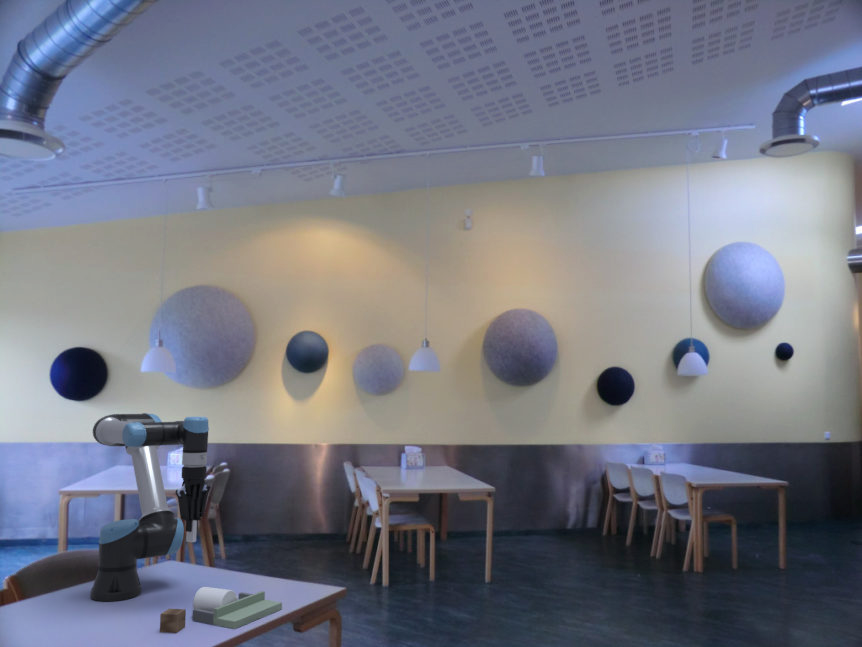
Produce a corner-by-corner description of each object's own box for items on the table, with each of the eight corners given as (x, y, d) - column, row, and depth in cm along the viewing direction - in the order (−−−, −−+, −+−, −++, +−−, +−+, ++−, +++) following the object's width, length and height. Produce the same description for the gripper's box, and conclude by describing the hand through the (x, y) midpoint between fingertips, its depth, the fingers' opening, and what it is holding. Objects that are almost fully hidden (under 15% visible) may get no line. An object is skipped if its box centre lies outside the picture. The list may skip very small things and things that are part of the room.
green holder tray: (192, 620, 211) (193, 604, 211) (241, 601, 230) (242, 587, 230) (234, 629, 204) (235, 612, 204) (281, 609, 222) (282, 594, 223)
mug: (220, 622, 210) (221, 594, 210) (192, 618, 213) (193, 590, 214) (244, 610, 221) (245, 583, 222) (217, 607, 224) (218, 580, 225)
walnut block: (159, 632, 201) (160, 613, 201) (168, 626, 206) (169, 608, 206) (176, 633, 200) (177, 614, 201) (185, 627, 205) (185, 609, 205)
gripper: (187, 468, 222) (184, 546, 220) (218, 464, 234) (215, 539, 232) (170, 466, 225) (166, 544, 223) (200, 463, 237) (197, 536, 235)
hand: (191, 541), depth 228 cm, fingers closed
